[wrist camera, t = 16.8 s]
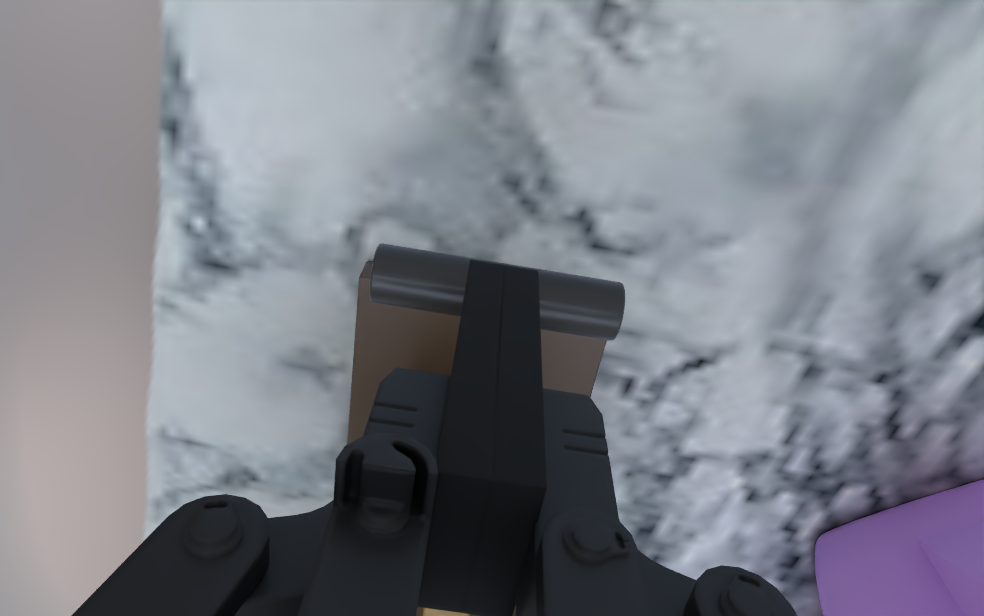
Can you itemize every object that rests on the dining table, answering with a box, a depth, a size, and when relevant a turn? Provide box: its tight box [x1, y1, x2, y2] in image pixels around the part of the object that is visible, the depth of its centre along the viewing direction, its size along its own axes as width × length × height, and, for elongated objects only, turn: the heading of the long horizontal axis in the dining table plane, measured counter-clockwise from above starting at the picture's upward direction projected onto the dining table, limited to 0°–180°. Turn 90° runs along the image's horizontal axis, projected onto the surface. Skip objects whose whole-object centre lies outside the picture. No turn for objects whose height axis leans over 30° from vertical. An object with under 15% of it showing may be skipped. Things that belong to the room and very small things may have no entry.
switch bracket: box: [347, 262, 606, 616], centre depth 22 cm, size 12×9×15 cm
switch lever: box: [369, 244, 625, 616], centre depth 17 cm, size 13×6×2 cm, turn 170°
